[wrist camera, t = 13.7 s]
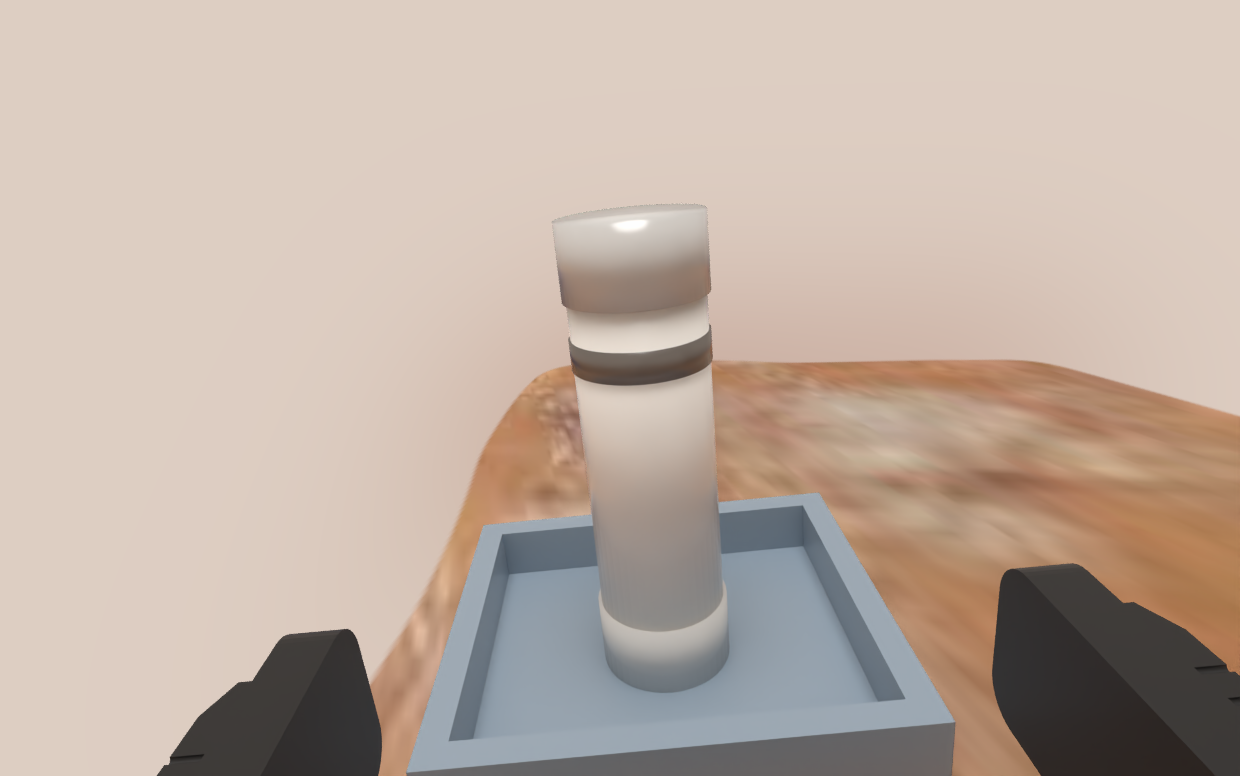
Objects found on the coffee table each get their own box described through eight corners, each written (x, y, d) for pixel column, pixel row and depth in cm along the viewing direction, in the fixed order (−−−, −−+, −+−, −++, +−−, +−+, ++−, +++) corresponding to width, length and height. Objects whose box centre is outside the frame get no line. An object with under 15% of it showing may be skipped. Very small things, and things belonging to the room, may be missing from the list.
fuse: (719, 603, 24) (697, 199, 19) (739, 686, 20) (717, 214, 16) (605, 612, 24) (557, 213, 19) (605, 698, 20) (545, 231, 16)
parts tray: (819, 550, 27) (818, 492, 27) (949, 804, 17) (955, 722, 16) (494, 582, 28) (483, 525, 27) (426, 851, 17) (406, 772, 16)
